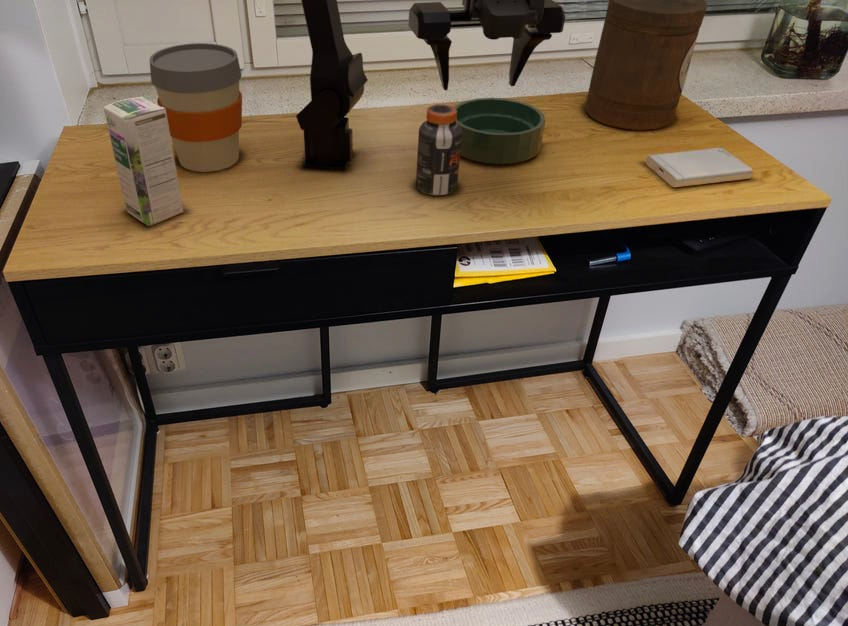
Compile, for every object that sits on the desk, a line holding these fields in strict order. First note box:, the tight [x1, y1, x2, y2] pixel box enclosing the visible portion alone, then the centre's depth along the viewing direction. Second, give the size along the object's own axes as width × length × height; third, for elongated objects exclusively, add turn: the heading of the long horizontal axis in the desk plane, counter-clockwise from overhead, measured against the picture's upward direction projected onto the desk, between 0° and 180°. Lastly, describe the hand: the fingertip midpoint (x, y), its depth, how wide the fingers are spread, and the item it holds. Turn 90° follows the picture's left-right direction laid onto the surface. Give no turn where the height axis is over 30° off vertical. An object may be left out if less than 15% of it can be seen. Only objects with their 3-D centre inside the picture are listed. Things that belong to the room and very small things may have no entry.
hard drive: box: [644, 147, 754, 188], centre depth 105 cm, size 2×8×12 cm
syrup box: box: [102, 96, 184, 227], centre depth 90 cm, size 6×6×14 cm
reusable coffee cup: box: [149, 42, 243, 173], centre depth 103 cm, size 13×13×15 cm
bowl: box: [453, 97, 546, 165], centre depth 110 cm, size 14×14×5 cm
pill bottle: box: [415, 104, 462, 196], centre depth 97 cm, size 6×6×11 cm
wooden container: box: [584, 0, 708, 131], centre depth 115 cm, size 15×15×22 cm
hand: (478, 87), depth 94 cm, fingers open, 9 cm apart
